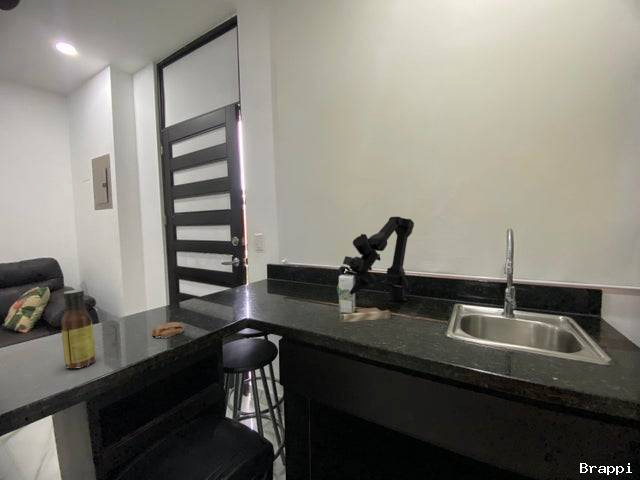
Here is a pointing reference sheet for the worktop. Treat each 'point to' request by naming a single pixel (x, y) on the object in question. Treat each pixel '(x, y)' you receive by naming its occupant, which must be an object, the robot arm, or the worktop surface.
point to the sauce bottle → (77, 331)
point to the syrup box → (346, 294)
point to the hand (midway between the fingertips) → (344, 291)
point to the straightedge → (364, 316)
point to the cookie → (167, 329)
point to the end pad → (367, 310)
